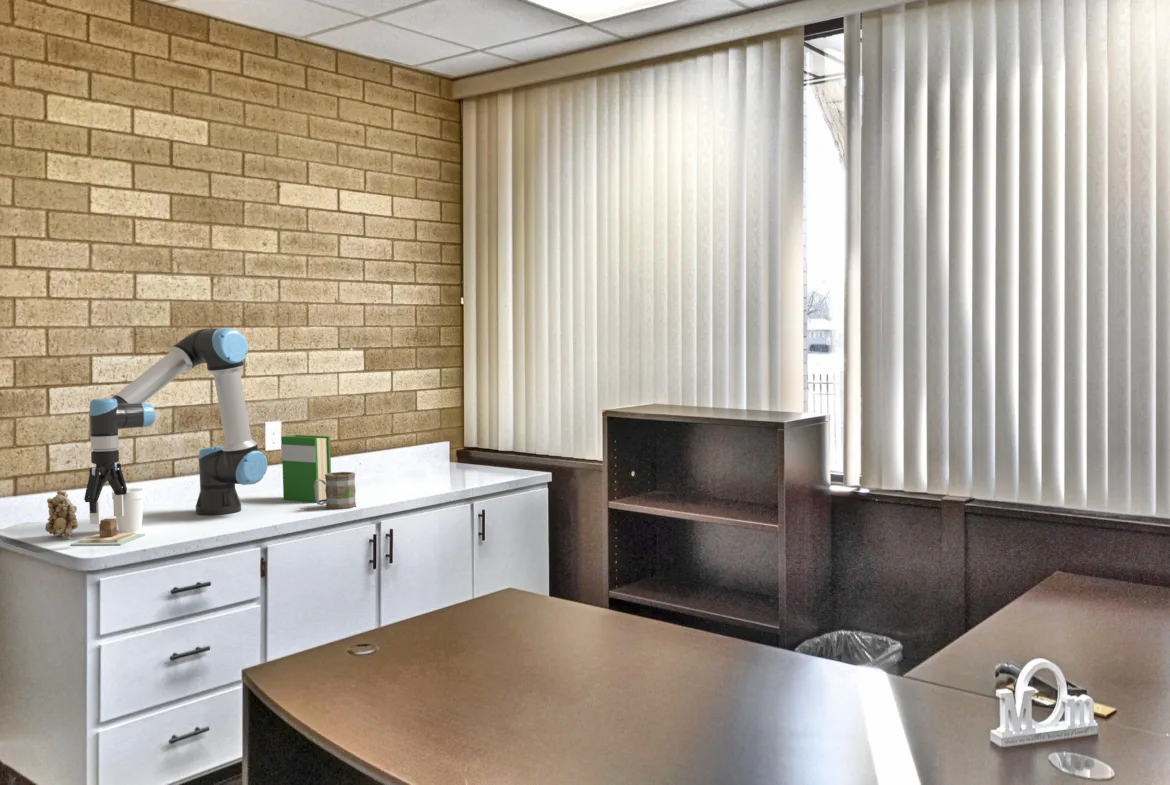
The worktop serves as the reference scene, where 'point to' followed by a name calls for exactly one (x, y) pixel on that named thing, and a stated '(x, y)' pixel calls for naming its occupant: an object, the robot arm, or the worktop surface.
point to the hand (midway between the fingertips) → (107, 520)
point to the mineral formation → (61, 515)
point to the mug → (338, 490)
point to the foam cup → (131, 510)
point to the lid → (107, 533)
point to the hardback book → (305, 466)
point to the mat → (109, 542)
